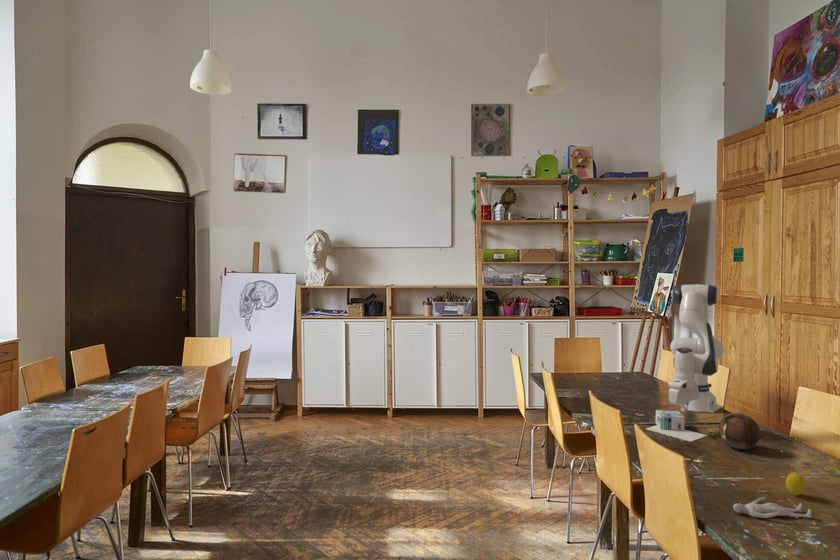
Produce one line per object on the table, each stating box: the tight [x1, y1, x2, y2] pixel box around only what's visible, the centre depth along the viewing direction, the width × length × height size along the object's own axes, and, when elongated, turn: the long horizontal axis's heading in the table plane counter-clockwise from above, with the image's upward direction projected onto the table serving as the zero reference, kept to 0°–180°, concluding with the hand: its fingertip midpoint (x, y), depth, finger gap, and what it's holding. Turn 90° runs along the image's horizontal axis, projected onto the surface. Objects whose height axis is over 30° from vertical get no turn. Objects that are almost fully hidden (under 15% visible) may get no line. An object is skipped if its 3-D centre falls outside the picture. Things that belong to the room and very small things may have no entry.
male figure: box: [732, 496, 812, 519], centre depth 162 cm, size 10×4×22 cm
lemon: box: [785, 472, 807, 497], centre depth 175 cm, size 6×6×8 cm
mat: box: [645, 424, 708, 443], centre depth 242 cm, size 14×22×1 cm, turn 34°
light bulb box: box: [654, 409, 685, 431], centre depth 249 cm, size 11×7×11 cm
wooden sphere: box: [718, 412, 761, 450], centre depth 220 cm, size 15×15×15 cm
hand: (684, 410), depth 245 cm, fingers closed
